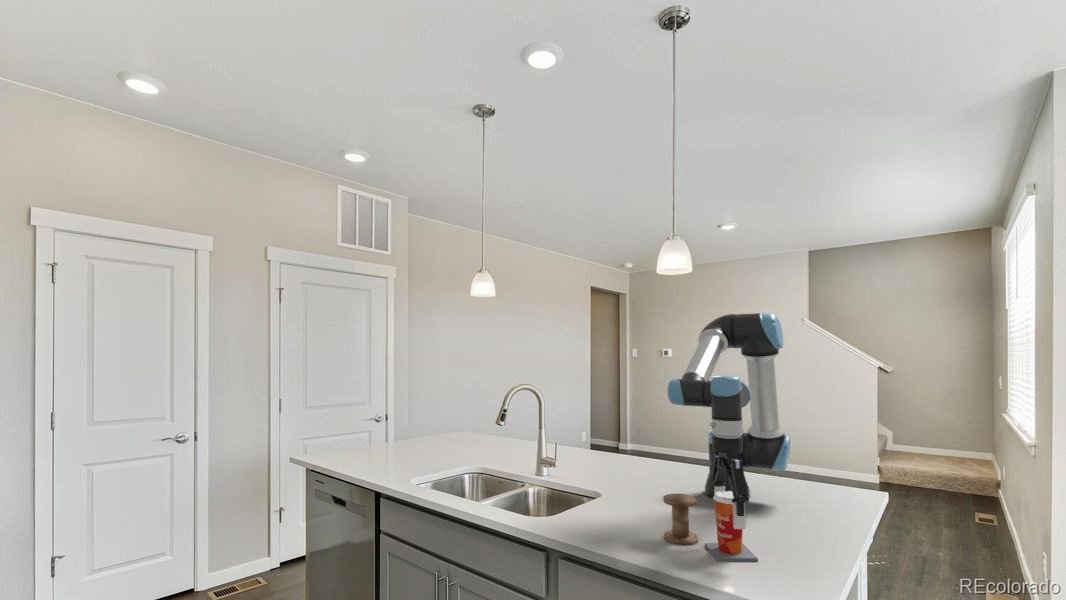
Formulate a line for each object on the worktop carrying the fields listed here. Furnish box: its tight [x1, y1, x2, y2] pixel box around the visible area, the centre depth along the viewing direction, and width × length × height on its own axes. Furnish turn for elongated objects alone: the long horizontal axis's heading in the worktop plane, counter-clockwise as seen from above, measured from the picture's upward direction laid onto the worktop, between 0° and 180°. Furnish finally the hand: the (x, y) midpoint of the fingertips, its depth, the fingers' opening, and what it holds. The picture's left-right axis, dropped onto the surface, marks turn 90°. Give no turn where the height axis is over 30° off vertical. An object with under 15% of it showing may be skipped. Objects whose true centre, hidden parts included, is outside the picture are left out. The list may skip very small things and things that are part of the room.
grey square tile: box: [704, 542, 759, 563], centre depth 138 cm, size 10×10×1 cm
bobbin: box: [662, 493, 699, 546], centre depth 149 cm, size 9×9×11 cm
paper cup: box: [712, 491, 743, 554], centre depth 139 cm, size 8×8×14 cm
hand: (729, 519), depth 139 cm, fingers open, 13 cm apart
